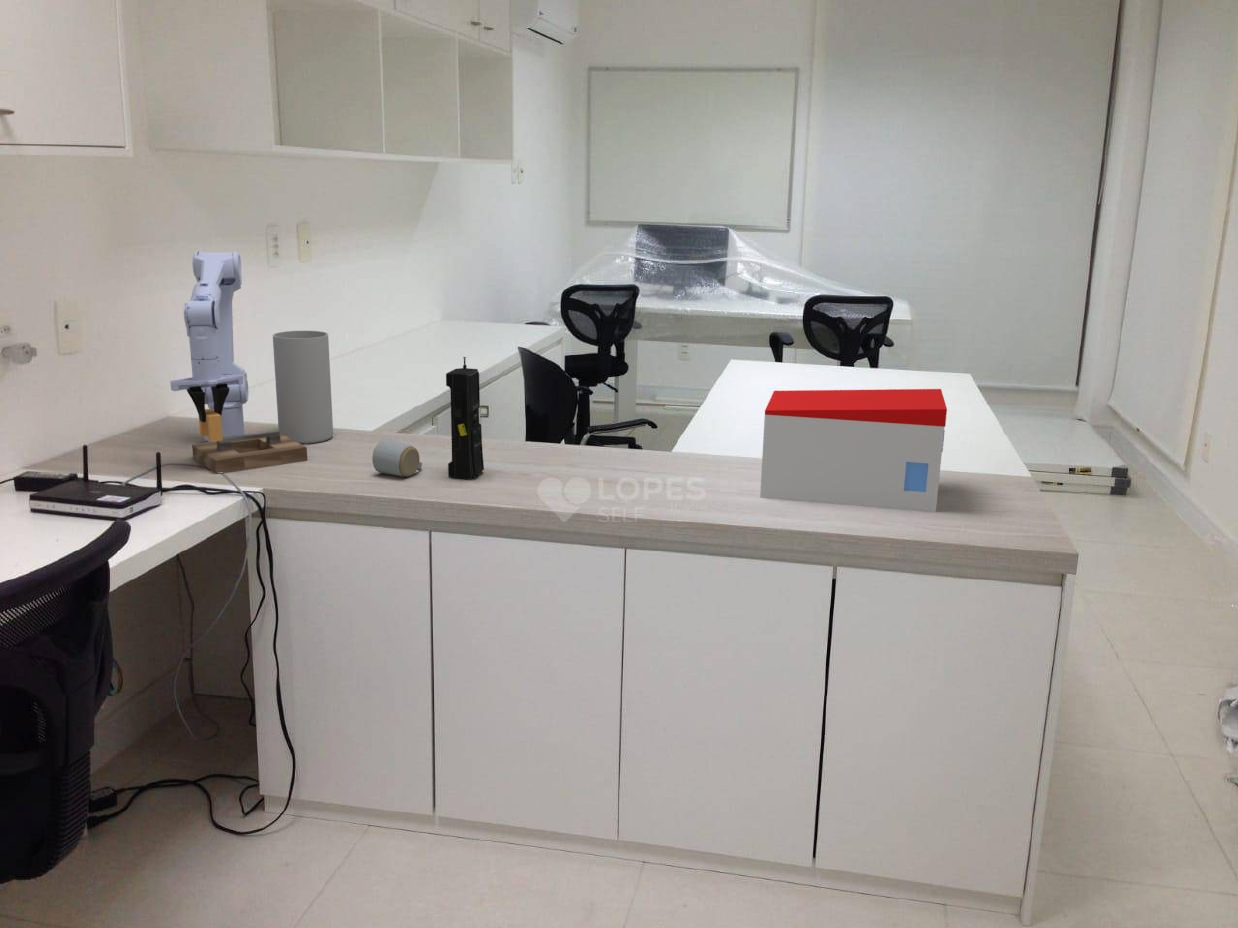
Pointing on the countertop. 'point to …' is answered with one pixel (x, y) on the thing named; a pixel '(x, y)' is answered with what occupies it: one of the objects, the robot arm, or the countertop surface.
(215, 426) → the orange c-shaped bracket
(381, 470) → the ceramic mug
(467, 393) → the portable radio
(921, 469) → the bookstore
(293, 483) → the countertop surface
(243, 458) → the hook board
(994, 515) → the countertop surface
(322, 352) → the cylinder vase
